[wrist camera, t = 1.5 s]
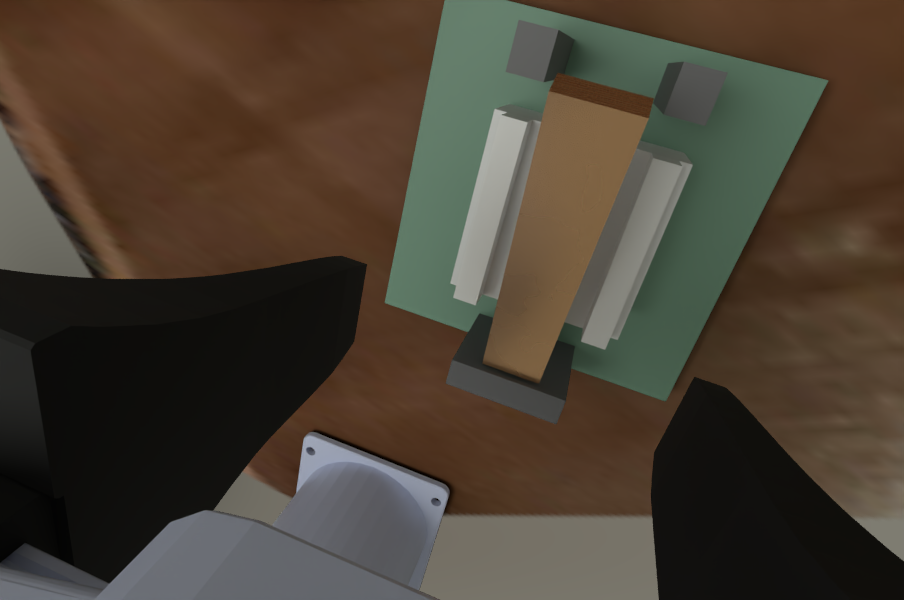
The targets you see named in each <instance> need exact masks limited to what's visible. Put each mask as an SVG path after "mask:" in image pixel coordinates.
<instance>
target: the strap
mask: <svg viewBox="0 0 904 600" xmlns="http://www.w3.org/2000/svg"><path fill="white" fill-rule="evenodd" d="M653 100H654V98H651V97H647V96H643V95H639V94H636V93H632V92H628V91H624V90H621V89H617V88H613V87H609V86H606V85H602V84H598V83H594V82H591V81H587V80H583V79H579V78H576V77H572V76H568V75H564V74H561V73H557V75H556V77H555V79H554V81H553V83H552V85H551V87H550V89H549V92H548V96H547V100H546V104H545V108H544V112H543V116H542V121H541V125H540V129H539V133H538V137H537V141H536V145H535V149H534V153H533V158H532V162H531V166H530V170H529V174H528V178H527V182H526V186H525V190H524V194H523V199H522V203H521V207H520V211H519V215H518V219H517V223H516V227H515V231H514V235H513V240H512V244H511V248H510V252H509V256H508V260H507V264H506V268H505V272H504V276H503V281H502V285H501V289H500V293H499V297H498V301H497V305H496V309H495V313H494V317H493V322H492V326H491V330H490V334H489V338H488V342H487V346H486V350H485V354H484V358H483V363H482V364H485V365H488V366H491V367H493V368H496V369H499V370H502V371H504V372H507V373H510V374H513V375H516V376H518V377H521V378H524V379H527V380H529V381H532V382H535V383H538V384H539V382H540V380H541V377H542V375H543V372H544V370H545V368H546V365H547V363H548V360H549V358H550V356H551V353H552V351H553V348H554V346H555V344H556V341H557V339H558V336H559V334H560V331H561V329H562V327H563V324H564V322H565V319H566V317H567V315H568V312H569V310H570V307H571V305H572V303H573V300H574V298H575V295H576V293H577V291H578V288H579V286H580V283H581V281H582V278H583V276H584V274H585V271H586V269H587V266H588V264H589V262H590V259H591V257H592V254H593V252H594V250H595V247H596V245H597V242H598V240H599V237H600V235H601V233H602V230H603V228H604V225H605V223H606V221H607V218H608V216H609V213H610V211H611V209H612V206H613V204H614V201H615V199H616V197H617V194H618V192H619V189H620V187H621V184H622V182H623V180H624V177H625V175H626V172H627V170H628V168H629V165H630V163H631V160H632V158H633V156H634V153H635V151H636V148H637V146H638V143H639V141H640V139H641V136H642V134H643V131H644V129H645V127H646V124H647V122H648V119H649V116H650V112H651V108H652V104H653Z"/></svg>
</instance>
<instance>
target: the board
mask: <svg viewBox="0 0 904 600" xmlns="http://www.w3.org/2000/svg"><path fill="white" fill-rule="evenodd" d="M557 73H561V74H564V75H568V76H572V77H576V78H579V79H583V80H587V81H591V82H594V83H598V84H602V85H606V86H609V87H613V88H617V89H621V90H624V91H628V92H632V93H636V94H639V95H643V96H647V97H651V98H654V100H653V104H652V108H651V112H650V116H649V119H648V122H647V124H646V127H645V129H644V131H643V134H642V136H641V139H640V141H639V143H638V146H637V148H636V151H635V153H634V156H633V158H632V160H631V163H630V165H629V168H628V170H627V172H626V175H625V177H624V180H623V182H622V184H621V187H620V189H619V192H618V194H617V197H616V199H615V201H614V204H613V206H612V209H611V211H610V213H609V216H608V218H607V221H606V223H605V225H604V228H603V230H602V233H601V235H600V237H599V240H598V242H597V245H596V247H595V250H594V252H593V254H592V257H591V259H590V262H589V264H588V266H587V269H586V271H585V274H584V276H583V278H582V281H581V283H580V286H579V288H578V291H577V293H576V295H575V298H574V300H573V303H572V305H571V307H570V310H569V312H568V315H567V317H566V319H565V322H564V324H563V327H562V329H561V331H560V334H559V336H558V339H557V341H556V344H555V346H554V348H553V351H552V353H551V356H550V358H549V360H548V363H547V365H546V368H545V370H544V372H543V375H542V377H541V380H540V382H539V384H538V383H535V382H532V381H529V380H527V379H524V378H521V377H518V376H516V375H513V374H510V373H507V372H504V371H502V370H499V369H496V368H493V367H491V366H488V365H485V364H482V363H483V358H484V354H485V350H486V346H487V342H488V338H489V334H490V330H491V326H492V322H493V317H494V313H495V309H496V305H497V301H498V297H499V293H500V289H501V285H502V281H503V276H504V272H505V268H506V264H507V260H508V256H509V252H510V248H511V244H512V240H513V235H514V231H515V227H516V223H517V219H518V215H519V211H520V207H521V203H522V199H523V194H524V190H525V186H526V182H527V178H528V174H529V170H530V166H531V162H532V158H533V153H534V149H535V145H536V141H537V137H538V133H539V129H540V125H541V121H542V116H543V112H544V108H545V104H546V100H547V96H548V92H549V89H550V87H551V85H552V83H553V81H554V79H555V77H556V75H557ZM827 82H828V80H824V79H820V78H816V77H812V76H808V75H804V74H800V73H796V72H792V71H788V70H784V69H780V68H776V67H772V66H768V65H764V64H760V63H756V62H752V61H748V60H744V59H740V58H736V57H732V56H728V55H724V54H720V53H716V52H712V51H708V50H704V49H700V48H696V47H692V46H688V45H684V44H680V43H676V42H672V41H668V40H664V39H660V38H655V37H651V36H647V35H643V34H639V33H635V32H631V31H627V30H623V29H619V28H615V27H611V26H607V25H603V24H599V23H595V22H591V21H587V20H583V19H579V18H575V17H571V16H567V15H563V14H559V13H555V12H551V11H547V10H543V9H539V8H535V7H531V6H527V5H523V4H519V3H515V2H511V1H507V0H445V2H444V7H443V12H442V17H441V22H440V27H439V32H438V37H437V42H436V47H435V52H434V57H433V62H432V67H431V72H430V77H429V82H428V87H427V92H426V98H425V103H424V108H423V113H422V118H421V123H420V128H419V133H418V138H417V143H416V148H415V153H414V158H413V163H412V168H411V173H410V178H409V183H408V188H407V193H406V199H405V204H404V209H403V214H402V219H401V224H400V229H399V234H398V239H397V244H396V249H395V254H394V259H393V264H392V269H391V274H390V279H389V284H388V289H387V294H386V300H385V303H387V304H390V305H392V306H395V307H398V308H401V309H404V310H407V311H410V312H412V313H415V314H418V315H421V316H424V317H427V318H429V319H432V320H435V321H438V322H441V323H444V324H447V325H449V326H452V327H455V328H458V329H461V330H464V331H466V332H468V334H467V335H466V337H465V339H464V341H463V342H462V344H461V346H460V347H459V349H458V351H457V353H456V354H455V356H454V358H453V359H452V363H451V366H450V370H449V373H448V377H447V381H446V384H449V385H451V386H454V387H457V388H459V389H462V390H465V391H468V392H470V393H473V394H476V395H478V396H481V397H484V398H486V399H489V400H492V401H495V402H497V403H500V404H503V405H505V406H508V407H511V408H514V409H516V410H519V411H522V412H524V413H527V414H530V415H532V416H535V417H538V418H541V419H543V420H546V421H549V422H551V423H554V424H557V421H558V419H559V416H560V414H561V411H562V409H563V406H564V404H565V402H566V396H567V390H568V384H569V378H570V373H571V368H572V369H574V370H577V371H580V372H583V373H586V374H589V375H592V376H594V377H597V378H600V379H603V380H606V381H609V382H611V383H614V384H617V385H620V386H623V387H626V388H629V389H631V390H634V391H637V392H640V393H643V394H646V395H648V396H651V397H654V398H657V399H660V400H663V401H666V400H667V398H668V396H669V394H670V392H671V390H672V388H673V386H674V384H675V382H676V380H677V378H678V376H679V374H680V372H681V371H682V369H683V367H684V365H685V363H686V361H687V359H688V357H689V355H690V353H691V351H692V349H693V347H694V345H695V343H696V341H697V339H698V337H699V335H700V333H701V331H702V329H703V327H704V325H705V323H706V321H707V319H708V317H709V315H710V313H711V311H712V309H713V307H714V305H715V303H716V301H717V299H718V297H719V295H720V294H721V292H722V290H723V288H724V286H725V284H726V282H727V280H728V278H729V276H730V274H731V272H732V270H733V268H734V266H735V264H736V262H737V260H738V258H739V256H740V254H741V252H742V250H743V248H744V246H745V244H746V242H747V240H748V238H749V236H750V234H751V232H752V230H753V228H754V226H755V224H756V222H757V220H758V218H759V217H760V215H761V213H762V211H763V209H764V207H765V205H766V203H767V201H768V199H769V197H770V195H771V193H772V191H773V189H774V187H775V185H776V183H777V181H778V179H779V177H780V175H781V173H782V171H783V169H784V167H785V165H786V163H787V161H788V159H789V157H790V155H791V153H792V151H793V149H794V147H795V145H796V143H797V141H798V140H799V138H800V136H801V134H802V132H803V130H804V128H805V126H806V124H807V122H808V120H809V118H810V116H811V114H812V112H813V110H814V108H815V106H816V104H817V102H818V100H819V98H820V96H821V94H822V92H823V90H824V88H825V86H826V84H827Z"/></svg>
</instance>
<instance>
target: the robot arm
mask: <svg viewBox="0 0 904 600" xmlns="http://www.w3.org/2000/svg"><path fill="white" fill-rule="evenodd" d="M366 267H367V264H364V263H361V262H358V261H355V260H352V259H349V258H347V257H344V256H333V257H325V258H318V259H313V260H307V261H302V262H297V263H291V264H286V265H280V266H275V267H270V268H264V269H257V270H250V271H244V272H237V273H230V274H224V275H215V276H205V277H192V278H176V279H99V278H79V277H67V276H55V275H44V274H34V273H25V272H17V271H10V270H2V269H0V600H439V599H437V598H435V597H432V596H430V595H428V594H425V593H423V592H421V591H419V589H420V586H421V583H422V580H423V577H424V574H425V571H426V567H427V564H428V561H429V558H430V555H431V552H432V548H433V545H434V542H435V539H436V536H437V532H438V529H439V526H440V523H441V520H442V517H443V513H444V510H445V507H446V504H447V501H448V497H449V494H450V491H449V488H448V487H447V486H446V485H445V484H443V483H441V482H438V481H436V480H433V479H431V478H428V477H426V476H423V475H421V474H418V473H416V472H413V471H411V470H408V469H406V468H403V467H401V466H398V465H396V464H393V463H391V462H388V461H386V460H383V459H381V458H378V457H376V456H373V455H371V454H368V453H366V452H363V451H361V450H358V449H356V448H353V447H351V446H348V445H346V444H343V443H341V442H338V441H336V440H333V439H331V438H328V437H326V436H323V435H321V434H318V433H316V432H310V433H308V434H307V435H306V436H305V438H304V441H303V448H302V455H301V462H300V469H299V476H298V484H297V491H296V495H295V496H294V497H293V498H292V500H291V501H290V503H289V504H288V505H287V506H286V508H285V509H284V510H283V512H282V513H281V514H280V515H279V517H278V518H277V520H276V521H275V522H274V523H273V525H272V526H271V525H269V524H267V523H264V522H262V521H259V520H254V519H250V518H245V517H241V516H237V515H232V514H228V513H224V512H220V511H213V510H214V508H215V507H216V506H217V504H218V503H219V502H220V500H221V499H222V498H223V496H224V495H225V493H226V492H227V491H228V489H229V488H230V487H231V485H232V484H233V483H234V481H235V480H236V479H237V478H238V476H239V475H240V474H241V472H242V471H243V470H244V469H245V467H246V466H247V465H248V463H249V462H250V461H251V459H252V458H253V457H254V456H255V454H256V453H257V452H258V451H259V450H260V449H261V447H262V446H263V445H264V444H265V443H266V442H267V441H268V439H269V438H270V437H271V436H272V435H273V434H274V433H275V432H276V431H277V430H278V429H279V428H280V427H281V426H282V425H283V424H284V423H285V422H286V421H287V420H288V419H289V418H290V417H291V416H292V414H293V413H294V412H295V411H296V410H297V409H298V408H299V407H300V406H301V405H302V404H303V403H304V402H305V401H306V400H307V399H308V398H309V397H310V396H311V395H312V394H313V393H314V392H315V391H316V390H317V389H318V387H319V386H320V385H321V384H322V383H323V382H324V381H325V380H326V379H327V378H328V377H329V376H330V375H331V374H332V372H333V371H334V370H335V368H336V367H337V365H338V364H339V363H340V361H341V360H342V359H343V357H344V356H345V354H346V353H347V351H348V350H349V348H350V347H351V345H352V344H353V342H354V339H355V333H356V327H357V321H358V315H359V309H360V303H361V297H362V291H363V285H364V279H365V273H366ZM311 448H313V449H314V450H313V449H311ZM435 498H437V499H439V500H440V501H437V500H436V499H435ZM651 504H652V518H653V531H654V544H655V555H656V568H657V581H658V593H659V600H904V561H903V560H901V559H900V558H899V557H898V556H896V555H895V554H894V553H892V552H891V551H890V550H889V549H888V548H886V547H885V546H884V545H883V544H882V543H881V542H880V541H878V540H877V539H876V538H875V537H874V536H872V535H871V534H870V533H869V532H868V531H867V530H866V529H865V528H863V527H862V526H861V525H860V524H859V523H858V522H857V521H855V520H854V519H853V518H852V517H851V516H850V515H849V514H848V513H846V512H845V511H844V510H843V509H842V508H841V507H840V506H839V505H838V504H837V503H836V502H835V501H834V500H833V499H832V498H831V497H830V496H829V495H828V494H827V493H825V492H824V491H823V490H822V489H821V488H820V487H819V486H818V485H817V484H816V483H815V482H814V481H813V480H812V479H811V478H810V477H809V476H808V475H807V474H806V473H805V472H804V470H803V469H802V468H801V467H800V466H799V465H798V464H797V463H796V462H795V461H794V460H793V459H792V458H791V457H790V456H789V455H788V454H787V452H786V451H785V450H784V449H783V448H782V447H781V446H780V445H779V444H778V443H777V442H776V440H775V439H774V438H773V437H772V436H771V435H770V434H769V433H768V432H767V430H766V429H765V428H764V427H763V426H762V425H761V424H760V423H759V422H758V420H757V419H756V418H755V417H754V416H753V415H752V414H751V413H750V412H749V410H748V409H747V408H746V407H745V406H744V405H743V404H742V403H741V402H740V401H739V400H738V399H737V398H736V397H735V396H734V395H733V394H732V393H731V392H730V391H729V390H728V389H727V388H725V387H722V386H719V385H717V384H714V383H711V382H708V381H705V380H702V379H699V378H696V377H694V379H693V380H692V382H691V384H690V386H689V388H688V390H687V392H686V394H685V396H684V397H683V399H682V401H681V403H680V405H679V407H678V409H677V411H676V413H675V414H674V416H673V418H672V420H671V422H670V424H669V426H668V428H667V430H666V431H665V433H664V435H663V437H662V439H661V441H660V443H659V445H658V446H657V448H656V450H655V452H654V461H653V472H652V487H651Z"/></svg>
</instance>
